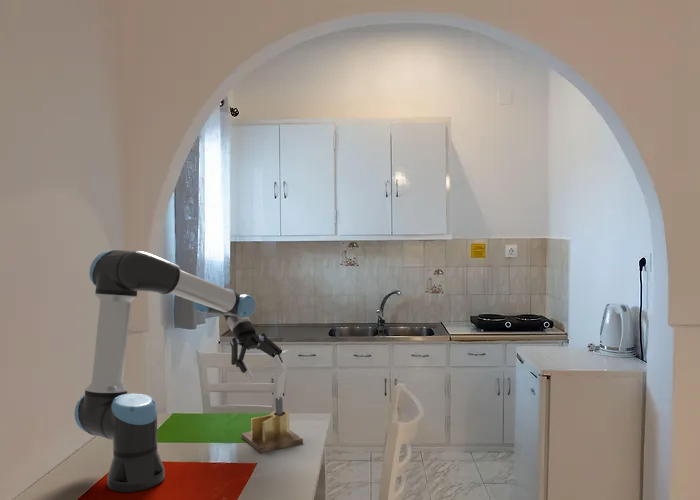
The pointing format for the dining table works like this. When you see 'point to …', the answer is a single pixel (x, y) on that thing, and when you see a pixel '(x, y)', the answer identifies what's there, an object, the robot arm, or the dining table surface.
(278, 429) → the brass hinge
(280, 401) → the hinge pin
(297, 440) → the walnut board
